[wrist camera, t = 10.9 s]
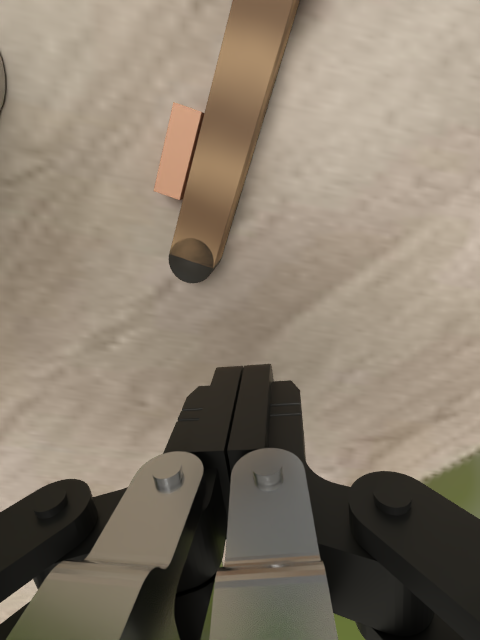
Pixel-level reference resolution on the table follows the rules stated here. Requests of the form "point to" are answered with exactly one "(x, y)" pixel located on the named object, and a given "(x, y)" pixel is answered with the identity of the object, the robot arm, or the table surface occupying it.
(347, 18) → the table surface
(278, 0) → the leg
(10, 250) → the table surface
